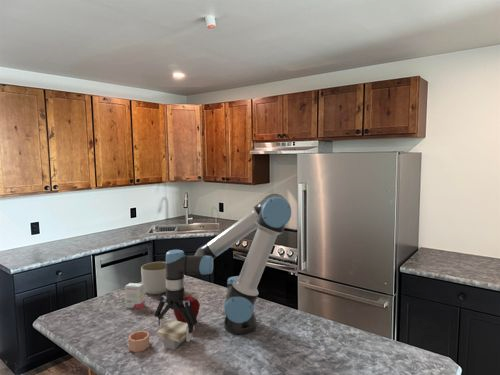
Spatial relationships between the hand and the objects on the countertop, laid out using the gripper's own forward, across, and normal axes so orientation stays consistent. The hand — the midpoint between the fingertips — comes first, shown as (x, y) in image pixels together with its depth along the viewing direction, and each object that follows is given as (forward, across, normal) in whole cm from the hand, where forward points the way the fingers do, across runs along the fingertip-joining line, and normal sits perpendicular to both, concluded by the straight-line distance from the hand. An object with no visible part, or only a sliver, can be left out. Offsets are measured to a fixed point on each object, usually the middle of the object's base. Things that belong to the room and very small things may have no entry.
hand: (175, 336), depth 142 cm
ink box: (+3, +41, -20) cm, 45 cm away
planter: (+3, +44, -41) cm, 60 cm away
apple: (+3, +5, -15) cm, 16 cm away
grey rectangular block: (+2, 0, 0) cm, 2 cm away
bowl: (+3, +12, +9) cm, 15 cm away
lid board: (-2, 0, 0) cm, 2 cm away
